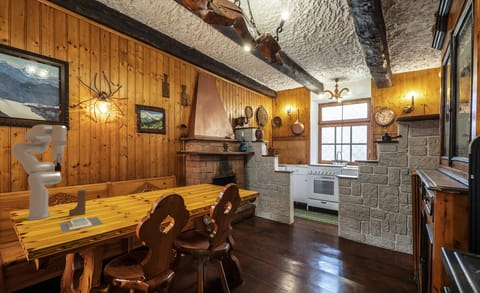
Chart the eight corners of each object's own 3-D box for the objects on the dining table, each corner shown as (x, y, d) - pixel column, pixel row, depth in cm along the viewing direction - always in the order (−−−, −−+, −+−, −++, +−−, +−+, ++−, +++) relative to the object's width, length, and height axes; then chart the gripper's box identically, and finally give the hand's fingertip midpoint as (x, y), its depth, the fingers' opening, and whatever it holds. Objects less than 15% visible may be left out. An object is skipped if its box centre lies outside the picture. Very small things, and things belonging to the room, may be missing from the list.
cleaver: (69, 217, 147) (70, 191, 148) (69, 216, 151) (69, 190, 151) (85, 215, 153) (86, 190, 154) (84, 213, 157) (85, 189, 157)
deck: (70, 219, 134) (72, 223, 127) (85, 217, 140) (88, 220, 133) (70, 223, 134) (72, 227, 127) (85, 220, 140) (88, 224, 133)
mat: (59, 224, 134) (59, 223, 134) (96, 217, 148) (96, 216, 148) (62, 233, 120) (62, 231, 120) (103, 224, 134) (103, 223, 134)
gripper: (50, 143, 143) (49, 171, 142) (52, 143, 132) (51, 172, 132) (64, 144, 148) (63, 170, 148) (67, 143, 137) (66, 172, 137)
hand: (57, 171), depth 140 cm, fingers closed
